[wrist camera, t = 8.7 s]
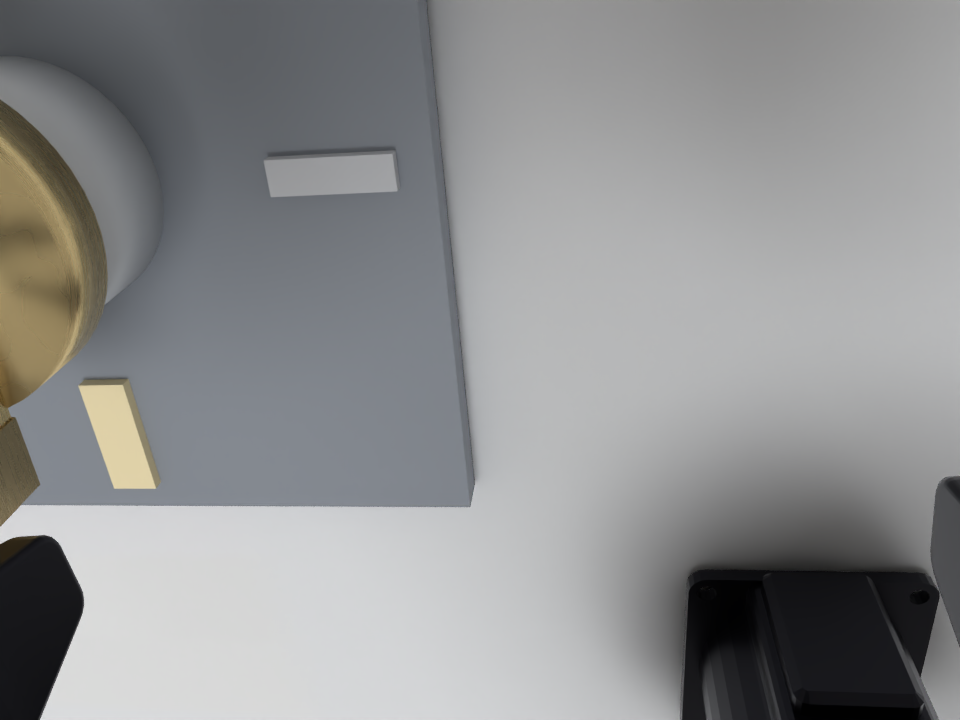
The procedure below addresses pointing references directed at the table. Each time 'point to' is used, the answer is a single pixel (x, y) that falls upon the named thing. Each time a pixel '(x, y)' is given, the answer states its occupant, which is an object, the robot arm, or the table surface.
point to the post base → (249, 254)
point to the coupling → (40, 283)
